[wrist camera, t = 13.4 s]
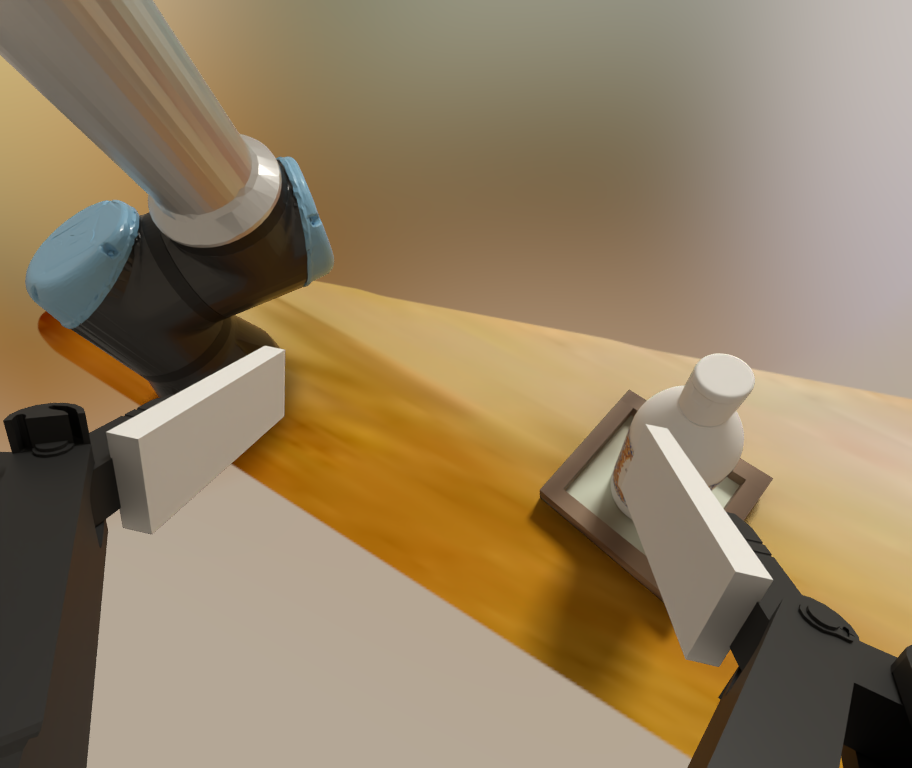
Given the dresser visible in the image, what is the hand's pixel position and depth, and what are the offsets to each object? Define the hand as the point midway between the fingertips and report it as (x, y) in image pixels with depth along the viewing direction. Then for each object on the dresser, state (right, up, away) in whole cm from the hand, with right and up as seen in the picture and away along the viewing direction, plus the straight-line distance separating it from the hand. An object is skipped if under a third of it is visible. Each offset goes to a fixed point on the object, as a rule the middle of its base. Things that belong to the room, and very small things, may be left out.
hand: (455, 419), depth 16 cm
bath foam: (+18, -9, +24) cm, 31 cm away
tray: (+18, -9, +25) cm, 32 cm away
